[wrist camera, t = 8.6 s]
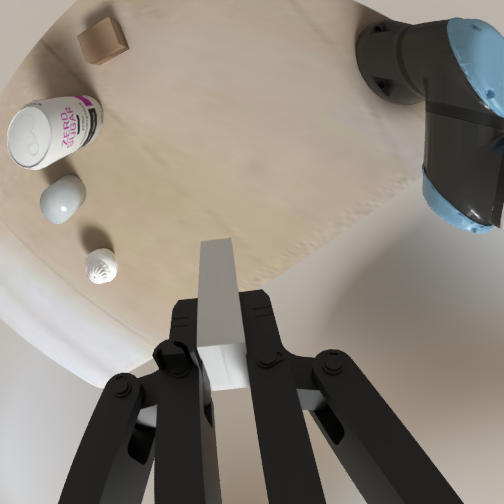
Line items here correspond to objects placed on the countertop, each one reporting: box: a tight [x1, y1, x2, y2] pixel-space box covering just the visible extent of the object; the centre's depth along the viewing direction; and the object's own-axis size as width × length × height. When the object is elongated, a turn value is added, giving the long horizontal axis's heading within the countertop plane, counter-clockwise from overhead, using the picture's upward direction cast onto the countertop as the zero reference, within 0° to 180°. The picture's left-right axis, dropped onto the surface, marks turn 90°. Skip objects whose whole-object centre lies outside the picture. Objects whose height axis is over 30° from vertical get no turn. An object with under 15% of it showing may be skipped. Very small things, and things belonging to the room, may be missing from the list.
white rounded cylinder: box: [40, 175, 86, 224], centre depth 36 cm, size 6×6×6 cm
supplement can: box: [7, 95, 103, 170], centre depth 27 cm, size 8×8×15 cm
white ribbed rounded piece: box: [85, 248, 117, 284], centre depth 43 cm, size 6×6×7 cm
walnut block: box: [77, 17, 129, 65], centre depth 26 cm, size 5×5×5 cm
